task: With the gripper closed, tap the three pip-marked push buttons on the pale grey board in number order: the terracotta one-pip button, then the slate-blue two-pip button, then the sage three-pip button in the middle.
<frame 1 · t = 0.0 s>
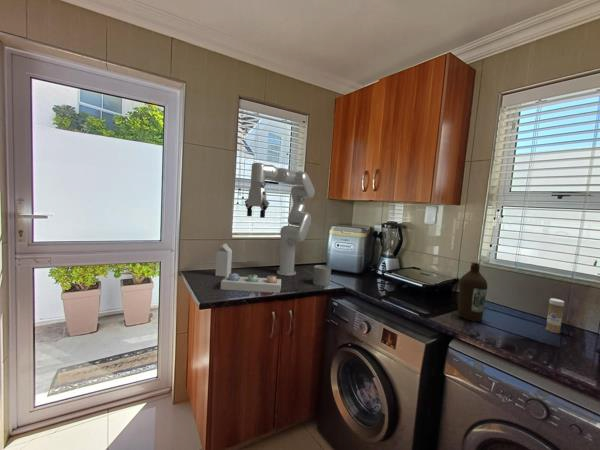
hand: (255, 216, 155), 37 cm above the worktop, tool pointing down, fingers open, 9 cm apart
button board: (252, 287, 149), on the worktop
olive oil: (469, 317, 127), on the worktop
button three: (252, 279, 149), point 4 cm above the worktop, slide at 0.0 cm
sprinkles bottle: (552, 331, 117), on the worktop
button one: (271, 280, 149), point 4 cm above the worktop, slide at 0.0 cm
button two: (233, 278, 149), point 4 cm above the worktop, slide at 0.0 cm
coffee mug: (322, 283, 168), on the worktop
milk carton: (223, 275, 171), on the worktop
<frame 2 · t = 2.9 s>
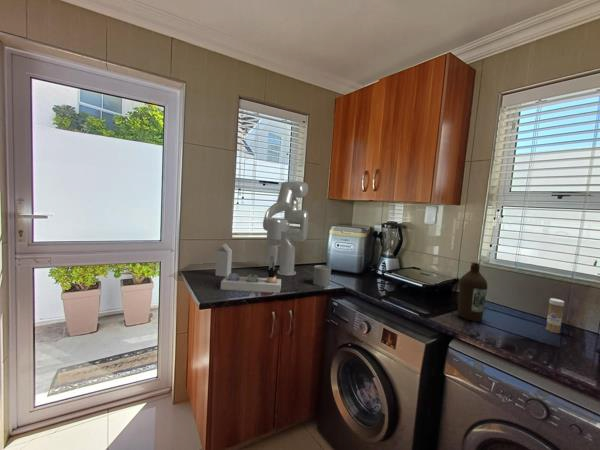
hand: (271, 276, 148), 7 cm above the worktop, tool pointing down, fingers closed
button one: (271, 280, 149), point 4 cm above the worktop, slide at 0.0 cm, touching gripper
everything else where it was.
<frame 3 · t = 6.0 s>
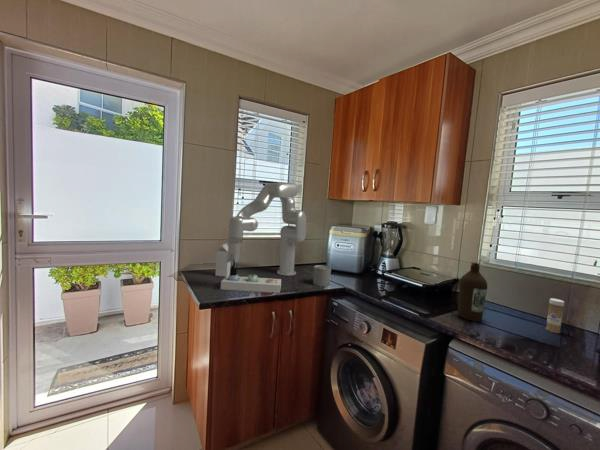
hand: (233, 275, 148), 6 cm above the worktop, tool pointing down, fingers closed
button one: (271, 284, 149), point 3 cm above the worktop, slide at 1.9 cm
button two: (233, 279, 149), point 4 cm above the worktop, slide at 0.4 cm, touching gripper
everything else where it was.
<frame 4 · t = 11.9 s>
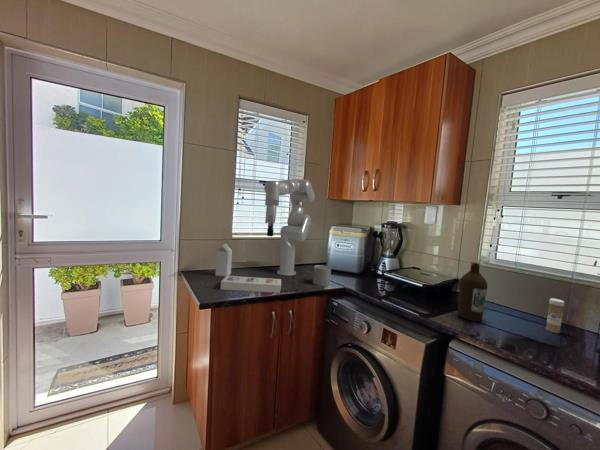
hand: (270, 235, 157), 27 cm above the worktop, tool pointing down, fingers closed
button three: (252, 283, 149), point 3 cm above the worktop, slide at 1.9 cm
button two: (233, 281, 149), point 3 cm above the worktop, slide at 1.9 cm
everything else where it was.
at the end: button one slide at 1.9 cm; button two slide at 1.9 cm; button three slide at 1.9 cm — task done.
